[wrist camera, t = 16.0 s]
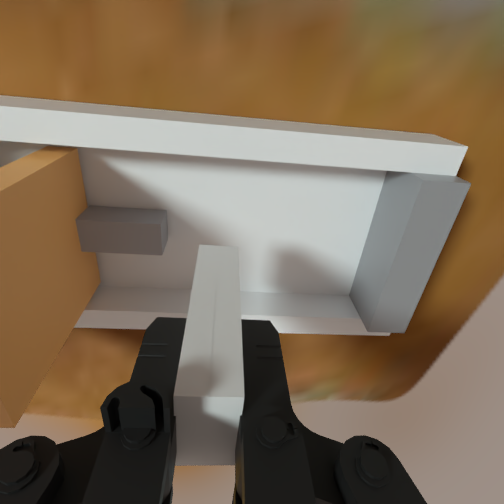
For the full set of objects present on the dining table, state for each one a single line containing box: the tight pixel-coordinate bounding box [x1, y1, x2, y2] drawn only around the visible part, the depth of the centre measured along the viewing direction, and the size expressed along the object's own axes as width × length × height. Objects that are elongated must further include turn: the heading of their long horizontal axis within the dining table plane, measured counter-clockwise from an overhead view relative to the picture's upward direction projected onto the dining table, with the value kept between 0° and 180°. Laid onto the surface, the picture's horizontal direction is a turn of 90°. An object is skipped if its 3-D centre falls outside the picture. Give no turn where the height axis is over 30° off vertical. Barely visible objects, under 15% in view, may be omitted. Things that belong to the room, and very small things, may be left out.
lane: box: [0, 95, 471, 336], centre depth 14 cm, size 10×36×4 cm, turn 85°
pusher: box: [0, 146, 168, 428], centre depth 12 cm, size 7×5×8 cm
